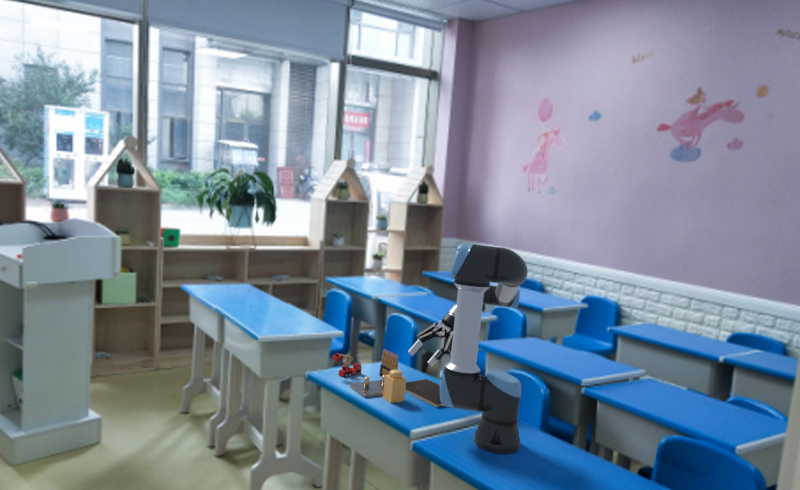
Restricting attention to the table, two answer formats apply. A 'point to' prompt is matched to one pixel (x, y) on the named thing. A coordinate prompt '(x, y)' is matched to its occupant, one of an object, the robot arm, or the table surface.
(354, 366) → the toy fire truck
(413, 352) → the robot arm
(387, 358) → the ammunition clip
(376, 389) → the slate tray with handles
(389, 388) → the wooden knobbed peg
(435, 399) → the hardcover book
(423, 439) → the table surface
